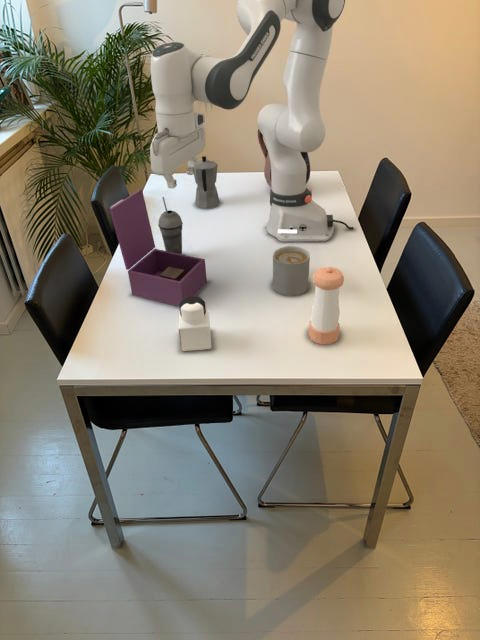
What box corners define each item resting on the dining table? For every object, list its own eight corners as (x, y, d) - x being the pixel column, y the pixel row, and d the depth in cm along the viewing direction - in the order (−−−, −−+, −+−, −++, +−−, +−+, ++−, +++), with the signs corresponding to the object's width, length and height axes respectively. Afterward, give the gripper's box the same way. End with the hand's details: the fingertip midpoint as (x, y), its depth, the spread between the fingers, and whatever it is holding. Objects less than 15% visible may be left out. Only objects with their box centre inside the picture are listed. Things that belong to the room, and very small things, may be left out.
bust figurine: (182, 333, 126) (176, 293, 118) (210, 331, 126) (206, 291, 119) (181, 351, 120) (176, 311, 113) (211, 349, 120) (207, 308, 113)
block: (186, 284, 142) (184, 269, 139) (177, 293, 139) (175, 278, 136) (171, 281, 144) (169, 266, 141) (161, 290, 140) (159, 275, 137)
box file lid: (142, 189, 135) (128, 188, 137) (111, 209, 125) (97, 207, 127) (155, 247, 145) (142, 245, 147) (128, 270, 135) (114, 268, 137)
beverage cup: (182, 264, 153) (175, 203, 141) (160, 262, 154) (150, 201, 142) (189, 252, 159) (182, 192, 147) (167, 251, 160) (159, 191, 148)
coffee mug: (307, 296, 137) (308, 265, 131) (270, 294, 138) (270, 263, 132) (309, 271, 147) (311, 241, 141) (276, 269, 149) (276, 239, 143)
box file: (207, 282, 144) (205, 258, 140) (183, 307, 135) (180, 283, 130) (158, 271, 150) (154, 248, 146) (132, 295, 140) (127, 271, 136)
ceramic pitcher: (302, 201, 187) (305, 133, 172) (249, 195, 194) (248, 129, 179) (314, 184, 200) (317, 119, 185) (264, 179, 207) (263, 116, 192)
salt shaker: (344, 337, 122) (352, 269, 111) (321, 348, 119) (327, 280, 108) (325, 322, 127) (330, 256, 116) (302, 332, 124) (306, 266, 113)
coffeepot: (196, 197, 194) (191, 150, 183) (220, 196, 194) (217, 149, 183) (193, 214, 182) (189, 165, 171) (219, 213, 182) (216, 164, 171)
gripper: (164, 137, 108) (171, 198, 116) (208, 113, 123) (211, 168, 131) (139, 134, 110) (148, 194, 118) (185, 111, 125) (190, 165, 133)
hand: (182, 180), depth 125 cm, fingers open, 8 cm apart
